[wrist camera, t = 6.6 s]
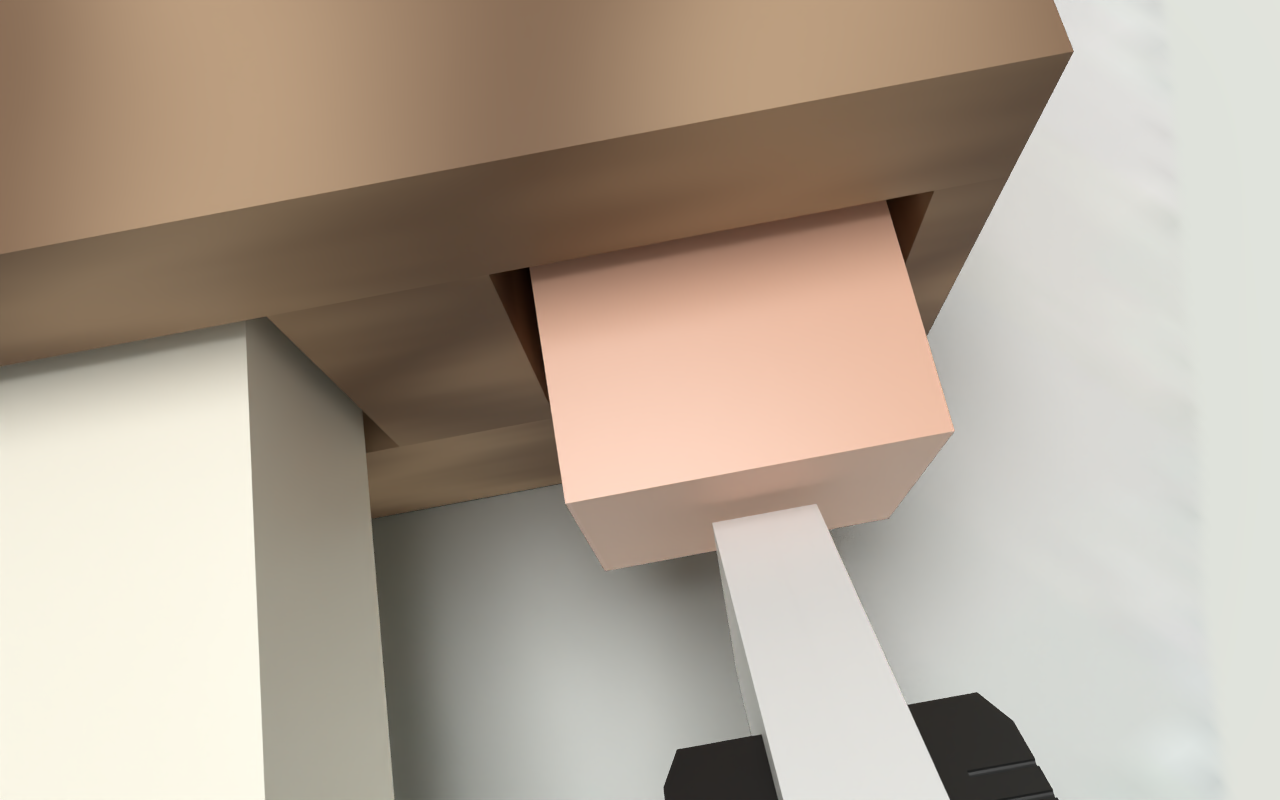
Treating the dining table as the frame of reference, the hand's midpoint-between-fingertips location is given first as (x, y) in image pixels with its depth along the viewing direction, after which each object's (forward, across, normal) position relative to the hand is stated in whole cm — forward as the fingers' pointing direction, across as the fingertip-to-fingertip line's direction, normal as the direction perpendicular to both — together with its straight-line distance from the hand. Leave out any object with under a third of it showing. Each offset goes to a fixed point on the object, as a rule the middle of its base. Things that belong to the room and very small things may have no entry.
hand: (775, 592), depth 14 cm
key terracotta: (+6, 0, +2) cm, 6 cm away
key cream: (+3, -9, -1) cm, 10 cm away
